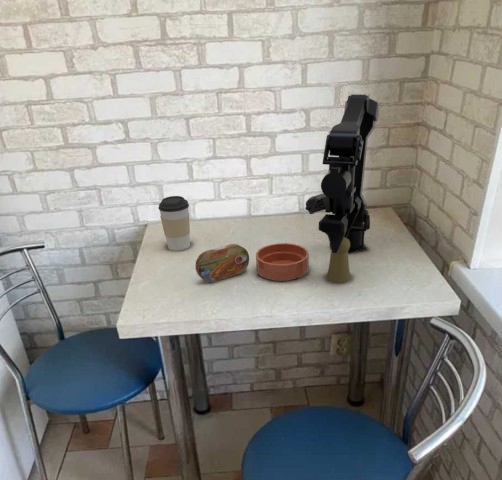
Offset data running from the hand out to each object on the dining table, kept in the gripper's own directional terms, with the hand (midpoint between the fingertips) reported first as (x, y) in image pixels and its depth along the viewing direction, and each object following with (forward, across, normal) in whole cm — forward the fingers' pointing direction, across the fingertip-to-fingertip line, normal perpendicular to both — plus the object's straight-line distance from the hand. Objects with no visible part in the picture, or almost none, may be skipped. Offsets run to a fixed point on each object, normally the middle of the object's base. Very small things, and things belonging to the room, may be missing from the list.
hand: (339, 245), depth 136 cm
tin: (+9, +8, -30) cm, 32 cm away
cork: (+9, 0, 0) cm, 9 cm away
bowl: (+9, 0, -16) cm, 18 cm away
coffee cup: (+9, -7, -52) cm, 53 cm away
